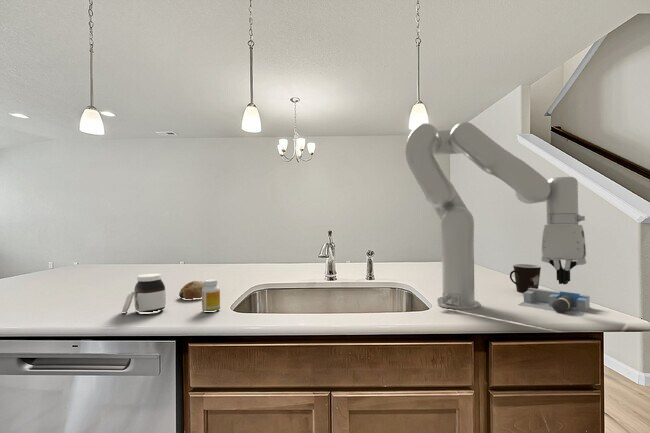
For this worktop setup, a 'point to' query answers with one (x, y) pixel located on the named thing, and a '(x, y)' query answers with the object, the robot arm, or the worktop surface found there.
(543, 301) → the grey ledge plate
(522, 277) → the coffee mug
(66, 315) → the worktop surface
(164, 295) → the spread jar
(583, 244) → the robot arm
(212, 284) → the supplement bottle
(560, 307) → the banded gray canister
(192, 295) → the bread roll
